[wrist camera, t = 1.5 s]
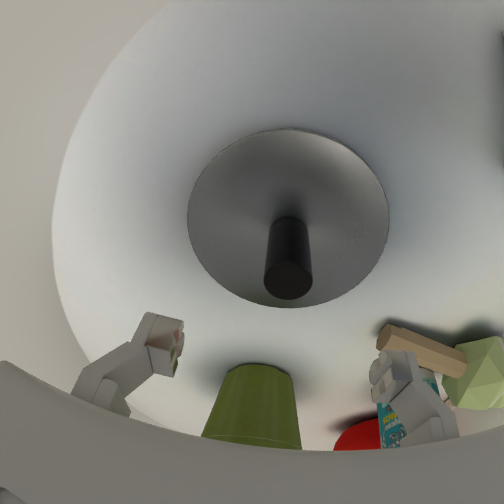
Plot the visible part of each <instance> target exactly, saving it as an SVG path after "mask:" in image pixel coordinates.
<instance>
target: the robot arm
mask: <svg viewBox="0 0 504 504" xmlns="http://www.w3.org/2000/svg"><path fill="white" fill-rule="evenodd" d="M183 328H184V321H182V320H178V319H174V318H170V317H166V316H162V315H158V314H154V313H151V312H146V313H145V314H144V316H143V318H142V320H141V322H140V324H139V326H138V328H137V330H136V332H135V334H134V336H133V338H132V340H131V342H128V341H127V342H126V343H124V344H122V345H121V346H119V347H118V348H116V349H114V350H113V351H111V352H109V353H108V354H106V355H104V356H103V357H101V358H100V359H98V360H96V361H95V362H93V363H91V364H90V365H88V366H86V367H85V368H83V370H82V372H81V374H80V376H79V378H78V380H77V382H76V384H75V386H74V388H73V390H72V392H71V394H68V393H66V392H64V391H62V390H60V389H58V388H56V387H54V386H52V385H50V384H48V383H46V382H44V381H42V380H40V379H38V378H36V377H34V376H33V375H30V374H29V373H27V372H25V371H24V370H22V369H20V368H18V367H17V366H15V365H14V364H12V363H10V362H8V361H1V362H0V504H504V425H501V426H498V427H495V428H492V429H488V430H485V431H481V432H478V433H474V434H470V435H466V436H462V437H460V435H459V430H458V426H457V422H456V417H455V414H454V412H453V411H452V410H451V409H450V408H449V407H448V406H447V405H446V403H445V402H444V401H443V400H442V399H441V398H440V397H439V396H438V395H437V393H436V392H435V391H434V390H433V389H432V388H431V387H430V386H429V385H428V384H427V382H426V381H423V379H422V376H421V372H420V368H419V365H418V362H417V358H416V355H415V353H414V352H413V351H402V350H382V351H381V352H380V353H379V358H378V359H376V360H375V361H373V363H372V364H371V367H370V370H369V380H370V382H371V383H372V384H373V387H372V389H371V393H372V400H373V403H389V405H390V406H391V408H392V409H393V411H394V412H395V414H396V415H397V417H398V418H399V420H400V421H401V423H402V424H403V426H404V427H405V429H406V431H407V432H408V435H407V436H405V437H404V438H402V439H401V440H400V447H396V448H386V449H373V450H353V451H313V450H292V449H279V448H269V447H259V446H251V445H244V444H237V443H231V442H225V441H219V440H214V439H209V438H204V437H199V436H194V435H190V434H186V433H181V432H177V431H173V430H169V429H166V428H162V427H158V426H155V425H152V424H148V423H145V422H141V421H138V420H135V419H132V418H129V416H130V413H131V411H130V409H129V407H128V405H127V403H126V401H125V399H124V398H125V397H126V396H127V395H129V394H130V393H131V392H132V391H134V390H135V389H136V388H137V387H138V386H140V385H141V384H142V383H143V382H144V381H146V380H147V379H148V378H149V377H150V376H152V375H153V373H156V374H160V375H164V376H169V377H174V374H175V371H176V368H177V365H178V361H177V358H178V357H179V356H181V353H182V350H183V345H184V333H183V332H182V331H183Z"/></svg>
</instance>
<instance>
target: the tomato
mask: <svg viewBox="0 0 504 504" xmlns="http://www.w3.org/2000/svg"><path fill="white" fill-rule="evenodd" d="M373 449H381V442H380V430H379V420H378V418H376V419H371V420H366V421H363V422H361V423H358V424H356V425H353V426H351V427H349V428H348V429H346V430H345V431H344V432H343V433H342V434H341V436H340V437H339V439H338V440H337V442H336V443H335V446H334V449H333V451H353V450H373Z"/></svg>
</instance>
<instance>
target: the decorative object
mask: <svg viewBox="0 0 504 504" xmlns="http://www.w3.org/2000/svg"><path fill="white" fill-rule="evenodd" d="M376 349H378V350H379V351H382V350H402V351H413V352H414V353H415V355H416V358H417V362H418V365H419V366H421V367H424V368H427V369H430V370H433V371H436V372H438V373H441V374H443V377H442V385H443V387H444V389H445V391H446V393H447V395H448V397H449V399H450V401H451V403H452V405H453V406H455V407H460V408H468V409H476V410H485V411H486V410H487V409H488V408H504V338H502V337H498V336H491V337H488V338H484V339H481V340H477V341H472V342H467V343H462V344H457V345H456V346H455V348H454V349H453V348H451V347H448V346H446V345H443V344H441V343H439V342H436V341H434V340H431V339H429V338H427V337H424V336H422V335H420V334H417V333H415V332H412V331H410V330H408V329H405V328H403V327H400V326H398V325H397V326H396V327H395V326H393V325H390V324H388V323H387V324H386V325H385V326H384V327H383V328H382V329H381V332H380V334H379V336H378V338H377V345H376Z"/></svg>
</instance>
